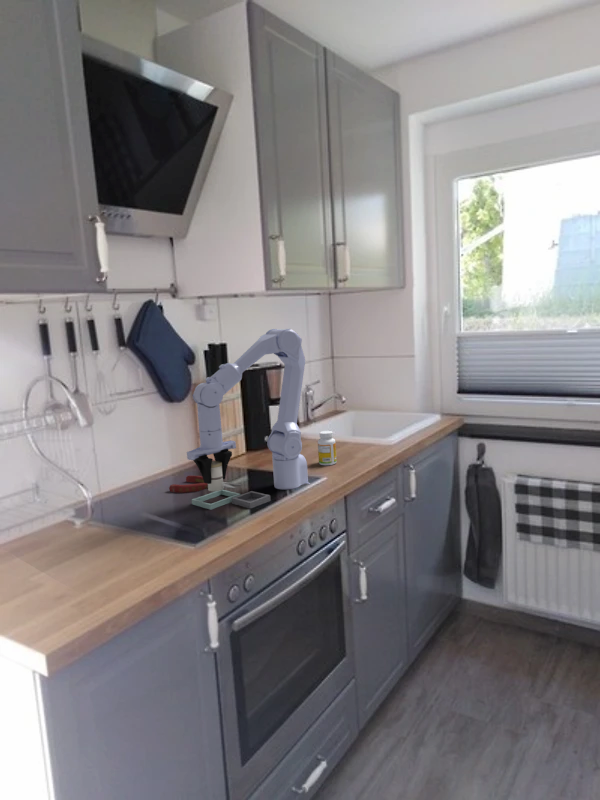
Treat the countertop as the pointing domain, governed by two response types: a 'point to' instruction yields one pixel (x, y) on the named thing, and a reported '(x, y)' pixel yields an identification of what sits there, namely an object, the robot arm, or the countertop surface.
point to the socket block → (251, 499)
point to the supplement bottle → (326, 448)
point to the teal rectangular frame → (200, 500)
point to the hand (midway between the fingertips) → (214, 480)
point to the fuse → (216, 477)
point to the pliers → (195, 485)
